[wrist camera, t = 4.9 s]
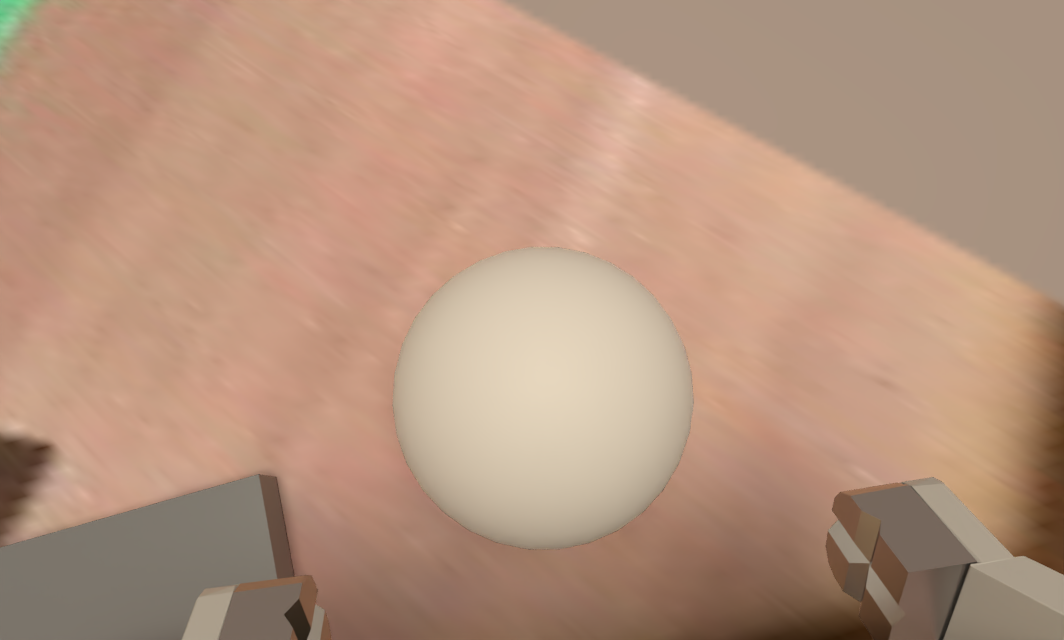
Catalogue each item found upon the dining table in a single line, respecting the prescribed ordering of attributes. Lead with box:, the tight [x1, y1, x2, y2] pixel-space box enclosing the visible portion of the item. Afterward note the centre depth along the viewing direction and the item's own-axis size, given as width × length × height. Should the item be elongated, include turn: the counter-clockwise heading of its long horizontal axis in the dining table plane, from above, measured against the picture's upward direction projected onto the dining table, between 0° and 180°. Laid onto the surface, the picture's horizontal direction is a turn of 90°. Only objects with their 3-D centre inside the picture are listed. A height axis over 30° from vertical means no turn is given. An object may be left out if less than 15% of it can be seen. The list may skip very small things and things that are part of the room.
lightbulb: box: [393, 247, 694, 549], centre depth 16 cm, size 6×6×11 cm
